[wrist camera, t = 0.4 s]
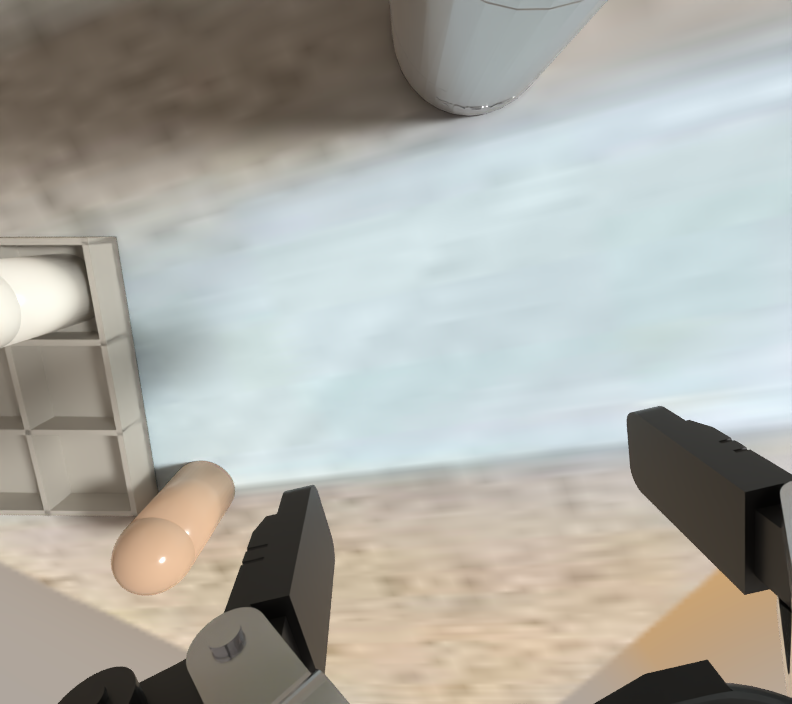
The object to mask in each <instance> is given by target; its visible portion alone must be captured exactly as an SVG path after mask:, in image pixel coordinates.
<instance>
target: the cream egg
mask: <svg viewBox="0 0 792 704" xmlns="http://www.w3.org/2000/svg"><path fill="white" fill-rule="evenodd" d="M94 317H95V312H94V307H93V301H92V296H91V291H90V285H89V280H88V274H87V269H86V263H85V260H84V259H82V258H80V257H78V256H76V255H73V254H68V253H57V254H46V255H35V256H24V257H13V258H2V259H0V348H3V347H6V346H9V345H12V344H15V343H19V342H22V341H25V340H28V339H31V338H35V337H38V336H41V335H44V334H48V333H51V332H54V331H57V330H60V329H64V328H67V327H70V326H73V325H76V324H80V323H83V322H86V321H89V320H91V319H92V318H94Z"/></svg>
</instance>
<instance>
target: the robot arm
mask: <svg viewBox="0 0 792 704" xmlns="http://www.w3.org/2000/svg"><path fill="white" fill-rule="evenodd" d="M607 1H608V0H390V12H391V26H392V38H393V43H394V49H395V54H396V57H397V60H398V62H399V65H400V68H401V70H402V73H403V74H404V76H405V77H406V79H407V80H408V82H409V83H410V85H411V87H412V88H413V89H414V90H415V91H416V92H417V93H418V94H419V95H420V96H421V97H422V98H423V99H424V100H426V101H427V102H429V103H430V104H432V105H433V106H435V107H436V108H438V109H441V110H444V111H446V112H449V113H452V114H458V115H467V116H472V115H480V114H487V113H489V112H492V111H495V110H498V109H500V108H503V107H504V106H506V105H507V104H509V103H511V102H512V101H514V100H515V99H517V98H518V97H519V96H520V95H521V94H522V93H523V92H524V91H525V90H526V89H527V88H528V87H529V86H530V85H531V84H532V83H533V82H534V81H535V80H536V79H537V78H538V76H539V75H540V74H541V73H542V72H543V71H544V70H545V69H546V68H547V67H548V66H549V65H550V64H551V63H552V61H553V60H554V59H555V58H556V57H557V56H558V55H559V54H560V53H561V51H562V50H563V49H564V48H565V47H566V46H567V45H568V44H569V43H570V42H571V40H572V39H573V38H574V37H575V36H576V35H577V34H578V33H579V32H580V30H581V29H582V28H583V27H584V26H585V25H586V24H587V23H588V22H589V21H590V19H591V18H592V17H593V16H594V15H595V14H596V13H597V12H598V11H599V9H600V8H601V7H602V6H603V5H604V4H605V3H606V2H607ZM627 433H628V445H629V458H630V469H631V473H632V476H633V479H634V481H635V483H636V485H637V487H638V488H639V490H640V491H641V492H642V493H643V494H644V495H645V496H646V497H647V498H648V499H649V500H650V501H651V502H652V503H653V504H654V505H655V506H656V507H657V508H658V509H659V510H660V511H661V512H662V513H663V514H664V515H665V516H666V517H667V518H668V519H669V520H670V521H671V522H672V523H673V524H674V525H675V526H676V527H677V528H678V529H679V530H680V531H681V532H682V533H683V534H684V535H685V536H686V537H687V538H688V539H689V540H690V541H691V542H692V543H693V544H694V545H695V546H696V547H697V548H698V549H699V550H700V551H701V552H702V553H703V554H704V555H705V556H706V557H707V558H708V559H709V560H710V561H711V562H712V563H713V564H714V565H715V566H716V567H717V568H718V569H719V570H720V571H721V572H722V573H723V574H724V575H725V576H726V577H727V578H728V579H729V580H730V581H731V582H733V584H734V585H736V587H737V588H738V589H739V590H740V591H741V592H742V593H743V594H744V595H746V594H750V593H755V592H759V591H763V590H768V589H770V590H771V591H773V592H774V593H775V594H776V595H777V616H778V624H779V633H780V642H781V650H782V658H783V667H784V674H785V684H786V693H787V696H785V695H782V694H779V693H776V692H773V691H769V690H765V689H761V688H757V687H753V686H747V685H740V684H734V683H725V682H724V680H723V679H722V678H721V676H720V675H719V674H718V673H717V671H716V670H715V669H714V667H713V666H712V665H711V664H710V662H709V661H708V660H704V661H699V662H695V663H691V664H686V665H682V666H678V667H674V668H669V669H665V670H660V671H656V672H652V673H647V674H644V675H642V676H641V677H639V678H637V679H636V680H634V681H632V682H630V683H629V684H627V685H625V686H624V687H622V688H620V689H618V690H617V691H615V692H613V693H612V694H610V695H608V696H606V697H605V698H603V699H601V700H600V701H598V702H596V703H595V704H792V474H790V473H788V472H787V471H785V470H783V469H782V468H780V467H778V466H777V465H775V464H773V463H772V462H770V461H768V460H767V459H765V458H763V457H762V456H760V455H758V454H757V453H755V452H753V451H752V450H747V448H746V447H745V446H743V445H742V444H740V443H738V442H737V441H735V440H734V441H732V440H731V438H730V437H728V436H727V435H725V434H723V433H722V432H720V431H718V430H717V429H715V428H713V427H710V426H707V425H704V424H701V423H697V422H694V421H691V420H687V421H685V420H684V419H682V418H681V417H679V416H677V415H676V414H674V413H673V412H671V411H669V410H668V409H666V408H665V407H662V406H657V407H653V408H649V409H644V410H640V411H636V412H631V413H629V414H628V416H627ZM242 563H243V565H241V567H240V570H239V572H238V575H237V578H236V581H235V584H234V586H233V589H232V592H231V595H230V597H229V600H228V603H227V606H226V609H225V611H224V613H223V614H221V615H220V616H218V617H216V618H215V619H213V620H212V621H211V622H210V623H208V624H207V625H206V626H205V627H204V628H203V629H202V630H201V631H200V632H199V633H198V634H197V636H196V637H195V638H194V640H193V641H192V643H191V645H190V647H189V649H188V652H187V656H186V659H185V660H183V661H181V662H179V663H178V664H176V665H174V666H172V667H170V668H168V669H166V670H164V671H162V672H160V673H158V674H156V675H154V676H152V677H150V678H148V679H146V680H144V681H142V682H140V683H139V682H138V680H137V678H136V676H135V674H134V673H133V671H132V670H131V669H129V668H126V667H113V668H109V669H106V670H103V671H100V672H99V673H96V674H94V675H92V676H91V677H89V678H87V679H86V680H84V681H83V682H81V683H80V684H79V685H77V686H76V687H75V688H74V689H72V690H71V691H70V692H69V693H68V694H67V695H66V696H65V697H63V699H62V700H61V701H60V702H59V703H58V704H349V702H348V701H347V700H346V699H345V698H344V696H343V695H342V694H341V693H340V692H339V690H338V689H337V688H336V687H335V686H334V685H333V683H332V682H331V681H330V680H329V679H328V677H327V676H326V675H325V665H326V654H327V642H328V631H329V620H330V609H331V598H332V586H333V575H334V564H335V554H334V546H333V540H332V536H331V533H330V529H329V526H328V523H327V520H326V516H325V513H324V510H323V507H322V504H321V500H320V497H319V494H318V491H317V489H316V487H315V486H314V485H310V486H306V487H302V488H297V489H293V490H289V491H285V492H284V493H283V496H282V499H281V502H280V506H279V509H278V512H277V514H275V515H270V516H266V517H265V518H264V520H263V521H262V522H261V523H260V524H259V526H258V527H257V528H256V529H255V530H254V532H253V533H252V536H251V539H250V542H249V545H248V547H247V552H246V553H245V556H244V558H243V561H242Z"/></svg>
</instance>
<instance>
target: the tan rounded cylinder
mask: <svg viewBox="0 0 792 704" xmlns="http://www.w3.org/2000/svg"><path fill="white" fill-rule="evenodd" d="M234 495H235V487H234V483H233V480H232V478H231V477H230V475H229V474H228V473H227V472H226V471H225V470H224V469H223V468H222V467H220V466H218V465H217V464H214V463H211V462H208V461H194V462H191V463H188V464H186V465H185V466H183V467H182V468H181V469H180V470H179V471H178V472H177V473H176V474H175V475H174V476H173V477H172V479H171V480H170V481H169V482H168V483H167V484H166V485H165V486H164V487H163V488H162V489H161V491H160V492H159V493H158V494H157V495H156V496H155V497H154V498H153V499H152V500H151V501H150V503H149V504H148V505H147V506H146V507H145V508H144V509H143V510H142V511H141V512H140V513H139V515H138V516H137V517H136V518H135V519H134V520H133V521H132V522H131V523H130V524H129V525H128V527H127V528H126V529H125V530H124V531H123V532H122V534H121V535H120V536H119V538H118V539H117V541H116V543H115V546H114V548H113V551H112V557H111V567H112V572H113V575H114V577H115V579H116V581H117V582H118V583H119V584H120V585H121V586H122V587H123V588H124V589H125V590H127V591H129V592H131V593H134V594H137V595H155V594H159V593H162V592H165V591H167V590H169V589H170V588H172V587H174V586H175V585H176V584H178V583H179V582H180V581H181V580H182V579H183V578H184V577H185V576H186V574H187V573H188V572H189V570H190V568H191V567H192V565H193V564H194V562H195V560H196V559H197V557H198V556H199V554H200V552H201V551H202V549H203V548H204V546H205V544H206V543H207V541H208V540H209V538H210V536H211V535H212V533H213V532H214V530H215V528H216V527H217V525H218V524H219V522H220V520H221V519H222V517H223V516H224V514H225V512H226V511H227V509H228V507H229V506H230V504H231V503H232V501H233V499H234Z"/></svg>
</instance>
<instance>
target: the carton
mask: <svg viewBox="0 0 792 704" xmlns="http://www.w3.org/2000/svg"><path fill="white" fill-rule="evenodd" d="M57 253H68V254H73V255H76V256H78V257H80V258H82V259H84V260H85V263H86V269H87V274H88V280H89V285H90V291H91V296H92V301H93V307H94V312H95V317H94V318H92V319H91V320H89V321H86V322H83V323H80V324H76V325H73V326H70V327H67V328H64V329H60V330H57V331H54V332H51V333H48V334H44V335H41V336H38V337H35V338H31V339H28V340H25V341H22V342H19V343H15V344H12V345H9V346H6V347H3V348H0V515H50V516H138V515H139V513H140V512H141V511H142V510H143V509H144V508H145V507H146V506H147V505H148V504H149V503H150V501H151V500H152V499H153V498H154V497H155V496H156V495H157V494H158V488H157V482H156V476H155V470H154V464H153V458H152V452H151V446H150V440H149V434H148V427H147V421H146V415H145V409H144V403H143V397H142V391H141V385H140V379H139V373H138V366H137V360H136V354H135V348H134V342H133V336H132V330H131V324H130V318H129V312H128V305H127V299H126V293H125V287H124V281H123V275H122V269H121V263H120V257H119V251H118V244H117V238H116V237H0V259H2V258H13V257H24V256H35V255H46V254H57Z"/></svg>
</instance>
